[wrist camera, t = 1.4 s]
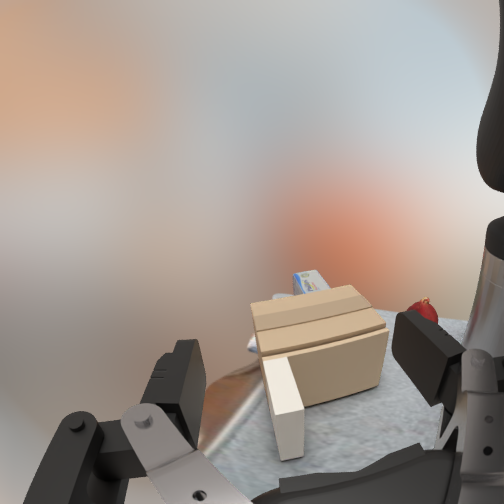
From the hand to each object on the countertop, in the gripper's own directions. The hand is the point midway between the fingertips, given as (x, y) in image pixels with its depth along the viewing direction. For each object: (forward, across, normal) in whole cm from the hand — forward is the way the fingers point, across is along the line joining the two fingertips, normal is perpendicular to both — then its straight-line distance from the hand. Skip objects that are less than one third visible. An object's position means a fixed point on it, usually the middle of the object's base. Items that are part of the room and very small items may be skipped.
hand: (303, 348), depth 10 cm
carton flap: (+12, -6, +20) cm, 24 cm away
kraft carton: (+21, -6, +19) cm, 29 cm away
